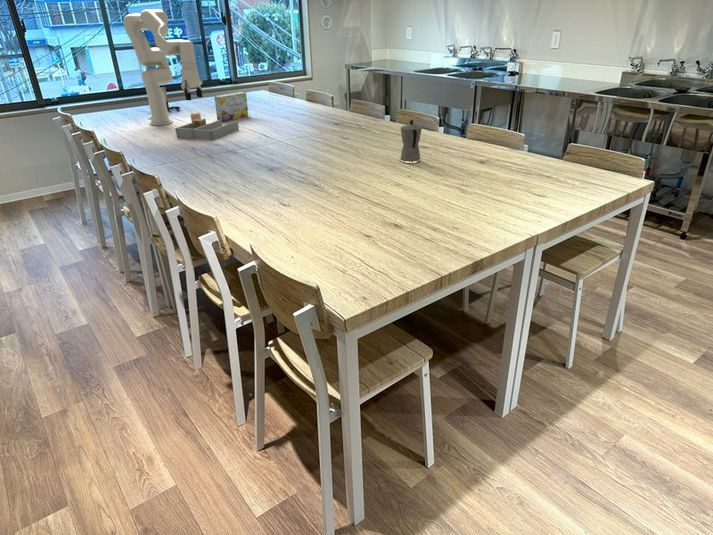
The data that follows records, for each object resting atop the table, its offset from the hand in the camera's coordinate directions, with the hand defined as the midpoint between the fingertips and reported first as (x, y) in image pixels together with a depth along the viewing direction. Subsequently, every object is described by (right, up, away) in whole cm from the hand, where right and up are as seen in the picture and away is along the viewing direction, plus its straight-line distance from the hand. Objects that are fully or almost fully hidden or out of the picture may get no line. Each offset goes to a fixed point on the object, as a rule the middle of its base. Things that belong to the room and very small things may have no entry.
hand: (194, 98), depth 272 cm
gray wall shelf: (+7, -19, +3) cm, 20 cm away
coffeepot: (+115, -47, -53) cm, 135 cm away
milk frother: (-40, +14, +65) cm, 78 cm away
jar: (-5, -10, +19) cm, 22 cm away
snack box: (+12, 0, +37) cm, 39 cm away
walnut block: (+2, -18, +5) cm, 18 cm away
